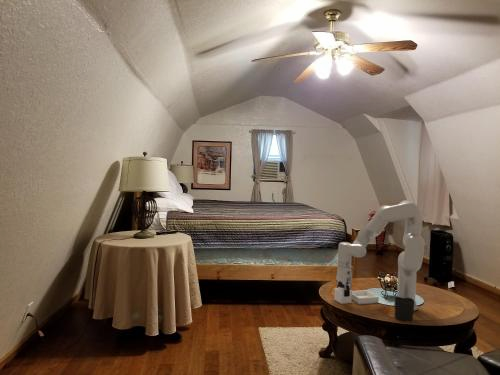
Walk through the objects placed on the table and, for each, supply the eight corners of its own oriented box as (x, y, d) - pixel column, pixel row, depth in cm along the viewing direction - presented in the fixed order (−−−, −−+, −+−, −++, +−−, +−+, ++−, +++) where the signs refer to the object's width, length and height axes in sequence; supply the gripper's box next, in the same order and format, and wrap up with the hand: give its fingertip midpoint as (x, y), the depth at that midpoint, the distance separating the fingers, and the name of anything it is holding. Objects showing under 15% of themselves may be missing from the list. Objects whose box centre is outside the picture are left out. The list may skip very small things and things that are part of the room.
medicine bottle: (351, 302, 221) (352, 282, 220) (341, 304, 218) (342, 283, 218) (344, 298, 227) (345, 278, 227) (334, 299, 225) (334, 279, 224)
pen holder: (406, 323, 194) (407, 303, 193) (390, 317, 201) (391, 298, 201) (417, 319, 199) (418, 300, 199) (400, 313, 207) (401, 295, 206)
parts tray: (378, 302, 222) (378, 297, 222) (358, 304, 219) (359, 298, 219) (366, 295, 234) (366, 290, 234) (347, 297, 231) (347, 291, 231)
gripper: (358, 267, 214) (356, 298, 215) (342, 260, 231) (341, 289, 232) (346, 268, 212) (344, 299, 213) (331, 260, 229) (330, 289, 230)
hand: (343, 293), depth 223 cm, fingers closed on medicine bottle, 7 cm apart
